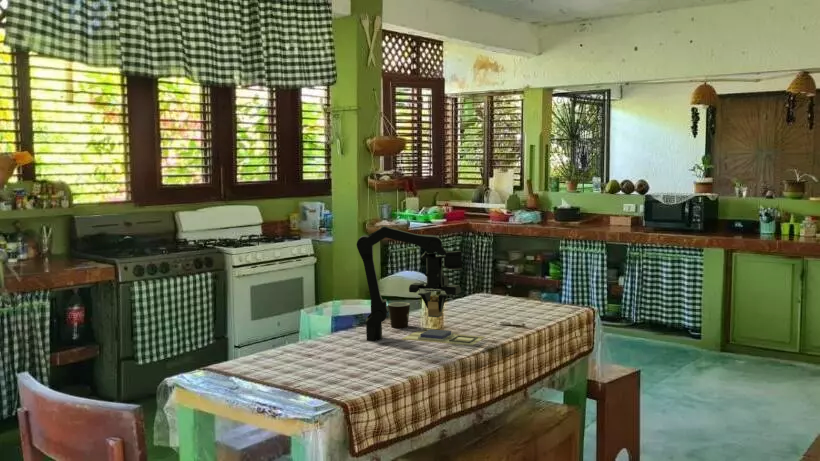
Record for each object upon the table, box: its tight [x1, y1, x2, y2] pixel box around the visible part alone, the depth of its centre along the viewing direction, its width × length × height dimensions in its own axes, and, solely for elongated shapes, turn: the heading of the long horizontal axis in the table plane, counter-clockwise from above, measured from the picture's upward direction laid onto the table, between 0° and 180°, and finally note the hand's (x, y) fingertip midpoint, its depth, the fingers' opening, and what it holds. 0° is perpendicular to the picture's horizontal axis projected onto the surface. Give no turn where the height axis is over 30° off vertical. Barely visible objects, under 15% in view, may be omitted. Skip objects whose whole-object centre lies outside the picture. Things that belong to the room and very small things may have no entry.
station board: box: [401, 330, 486, 347], centre depth 280 cm, size 14×28×1 cm, turn 64°
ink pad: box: [418, 328, 455, 341], centre depth 281 cm, size 10×10×2 cm
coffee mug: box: [387, 301, 411, 330], centre depth 302 cm, size 12×9×10 cm
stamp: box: [427, 296, 443, 318], centre depth 281 cm, size 4×4×7 cm
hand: (435, 311), depth 281 cm, fingers closed on stamp, 4 cm apart
